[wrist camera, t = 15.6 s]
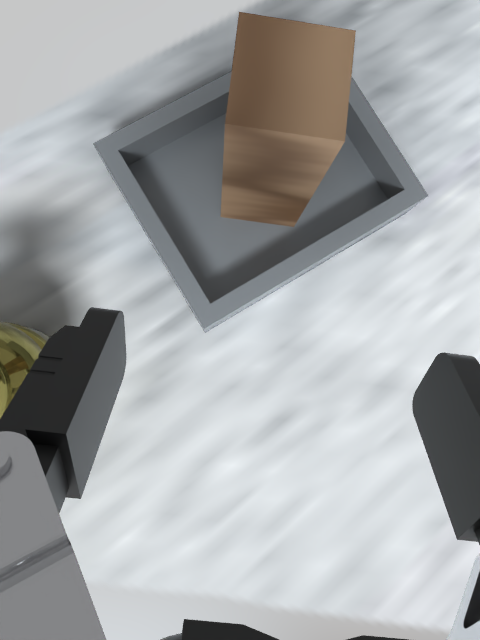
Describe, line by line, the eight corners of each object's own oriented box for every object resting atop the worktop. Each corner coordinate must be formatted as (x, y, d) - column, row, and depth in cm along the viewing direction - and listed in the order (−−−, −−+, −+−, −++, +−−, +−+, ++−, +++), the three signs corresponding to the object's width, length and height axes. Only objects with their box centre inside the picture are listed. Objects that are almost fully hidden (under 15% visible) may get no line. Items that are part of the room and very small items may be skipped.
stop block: (301, 157, 26) (355, 30, 16) (293, 227, 25) (345, 141, 16) (229, 146, 26) (239, 11, 16) (220, 216, 25) (225, 123, 15)
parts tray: (307, 61, 28) (318, 25, 25) (404, 213, 27) (428, 195, 24) (106, 168, 26) (92, 143, 23) (205, 332, 26) (203, 328, 23)
